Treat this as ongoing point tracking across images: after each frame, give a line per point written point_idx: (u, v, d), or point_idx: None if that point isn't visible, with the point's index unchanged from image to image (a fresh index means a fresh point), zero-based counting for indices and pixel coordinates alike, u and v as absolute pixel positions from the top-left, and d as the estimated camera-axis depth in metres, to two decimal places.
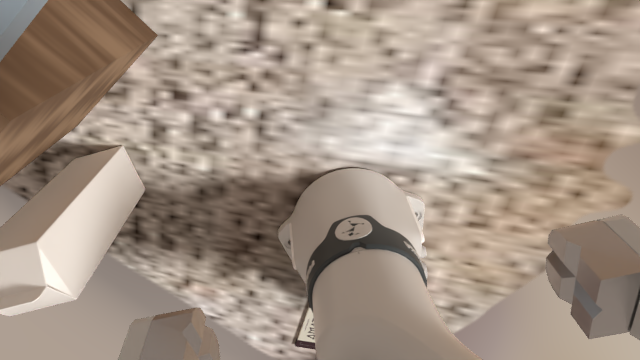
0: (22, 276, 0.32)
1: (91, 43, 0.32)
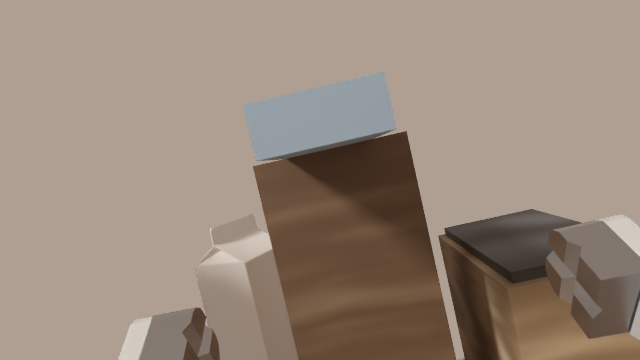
0: (236, 245, 0.37)
1: None
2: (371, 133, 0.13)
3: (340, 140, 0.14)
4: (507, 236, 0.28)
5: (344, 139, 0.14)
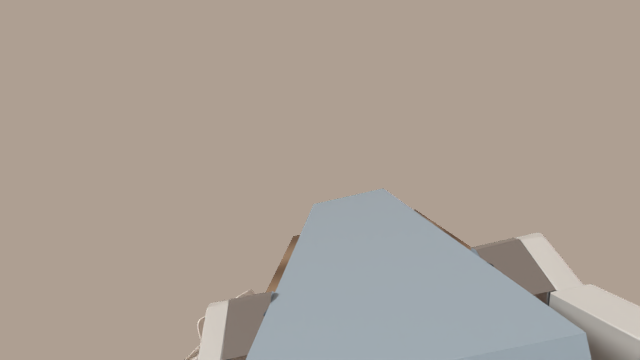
0: None
1: None
2: None
3: None
4: None
5: None
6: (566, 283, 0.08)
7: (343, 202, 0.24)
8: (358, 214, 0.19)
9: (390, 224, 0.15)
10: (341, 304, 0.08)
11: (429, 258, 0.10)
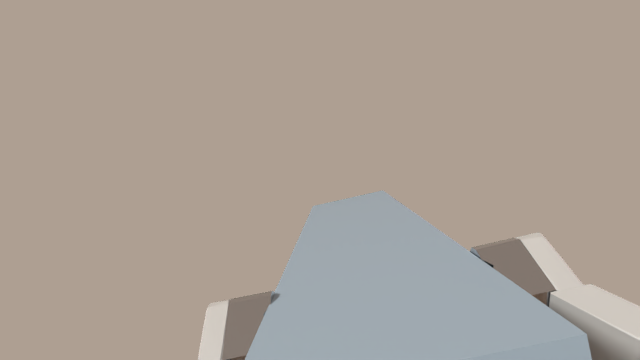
0: None
1: None
2: None
3: None
4: None
5: None
6: (566, 283, 0.08)
7: (342, 204, 0.24)
8: (357, 216, 0.19)
9: (389, 226, 0.15)
10: (340, 306, 0.08)
11: (429, 259, 0.10)
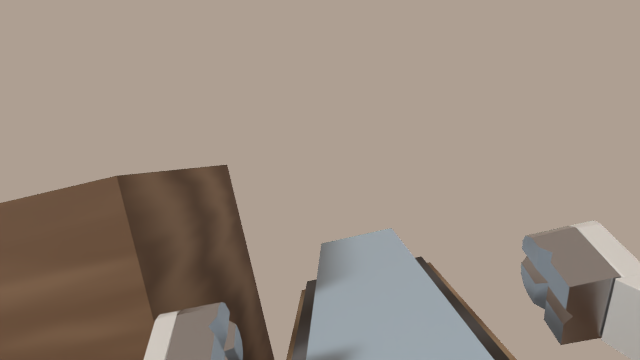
0: None
1: None
2: None
3: None
4: None
5: None
6: (631, 269, 0.08)
7: (352, 246, 0.24)
8: (370, 272, 0.19)
9: (406, 297, 0.15)
10: None
11: None
